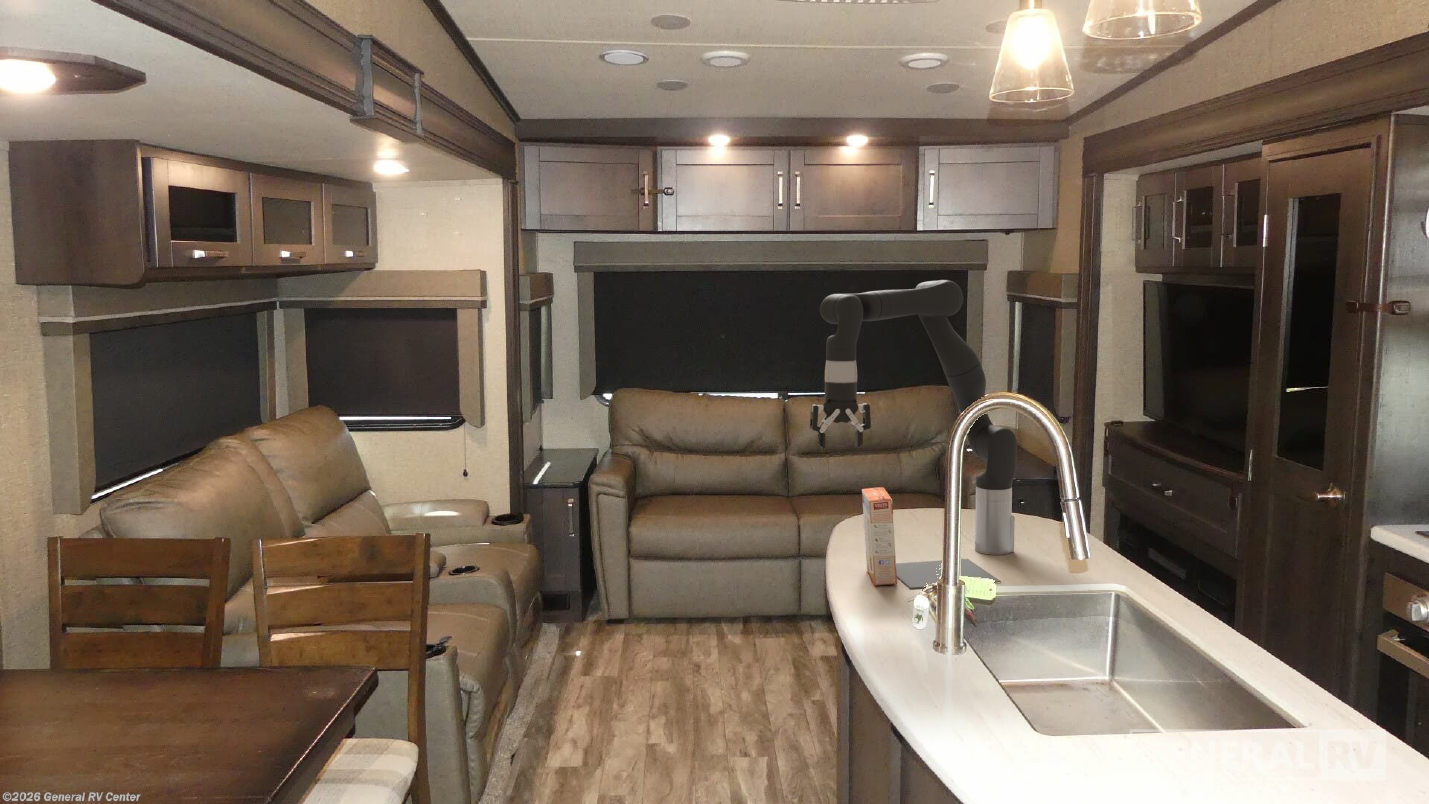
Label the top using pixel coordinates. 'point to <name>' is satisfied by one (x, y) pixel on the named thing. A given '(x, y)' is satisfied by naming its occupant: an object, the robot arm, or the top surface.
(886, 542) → the cracker box
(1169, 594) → the top surface
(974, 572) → the mat
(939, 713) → the top surface
